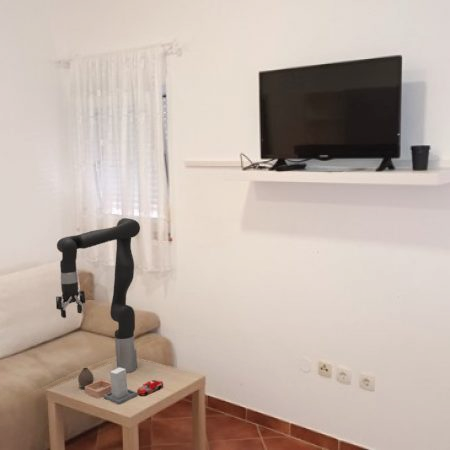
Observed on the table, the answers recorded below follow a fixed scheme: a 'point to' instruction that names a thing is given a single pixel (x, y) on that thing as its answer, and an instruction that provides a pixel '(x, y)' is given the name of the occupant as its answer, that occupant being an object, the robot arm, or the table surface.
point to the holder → (101, 383)
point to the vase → (85, 377)
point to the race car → (150, 387)
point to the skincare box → (118, 383)
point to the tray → (127, 397)
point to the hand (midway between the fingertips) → (71, 315)
